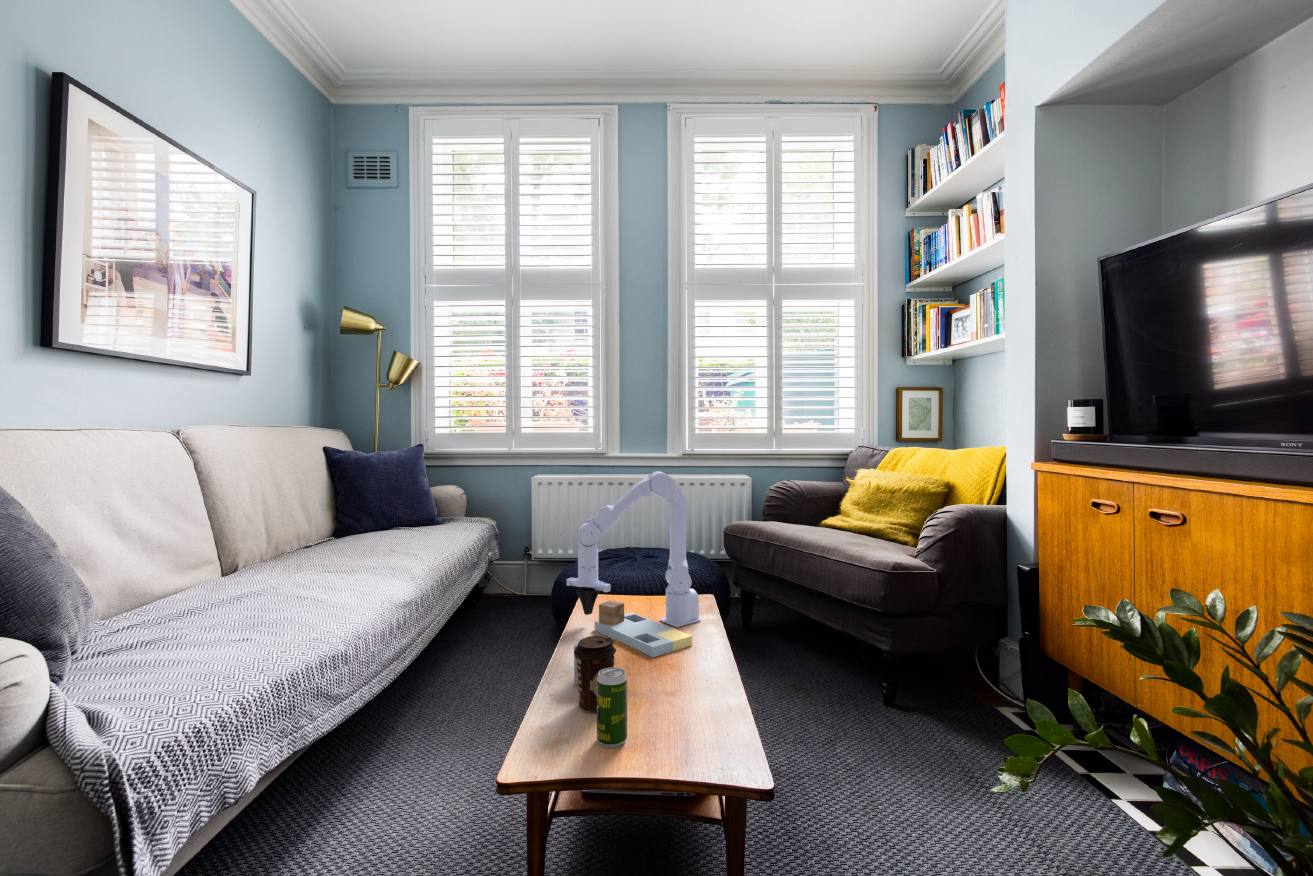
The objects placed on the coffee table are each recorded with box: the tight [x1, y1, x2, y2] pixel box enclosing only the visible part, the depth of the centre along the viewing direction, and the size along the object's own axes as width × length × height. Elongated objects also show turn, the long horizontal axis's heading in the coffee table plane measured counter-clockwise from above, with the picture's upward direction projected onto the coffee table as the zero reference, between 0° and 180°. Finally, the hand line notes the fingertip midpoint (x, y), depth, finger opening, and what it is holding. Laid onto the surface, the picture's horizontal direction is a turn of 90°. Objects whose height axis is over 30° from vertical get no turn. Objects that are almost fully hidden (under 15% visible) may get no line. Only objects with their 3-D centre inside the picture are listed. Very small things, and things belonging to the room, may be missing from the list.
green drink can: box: [596, 667, 628, 749], centre depth 103 cm, size 5×5×12 cm
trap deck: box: [594, 612, 693, 658], centre depth 156 cm, size 13×26×2 cm, turn 39°
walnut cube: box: [598, 600, 625, 626], centre depth 162 cm, size 5×5×5 cm
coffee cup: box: [573, 635, 617, 714], centre depth 116 cm, size 9×8×13 cm
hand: (588, 613), depth 166 cm, fingers closed
